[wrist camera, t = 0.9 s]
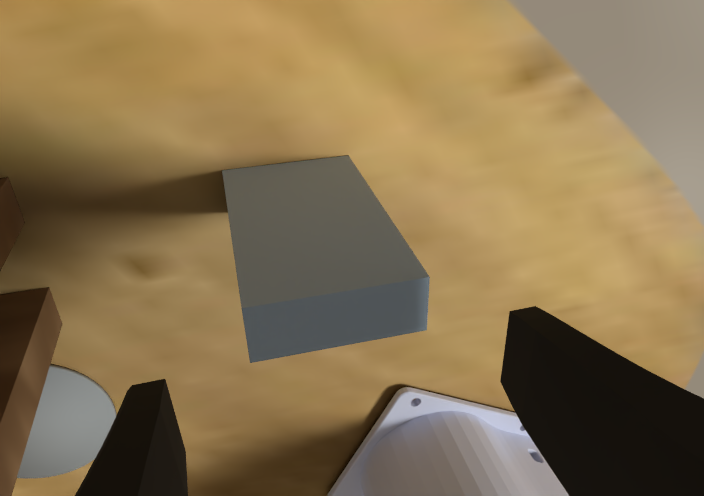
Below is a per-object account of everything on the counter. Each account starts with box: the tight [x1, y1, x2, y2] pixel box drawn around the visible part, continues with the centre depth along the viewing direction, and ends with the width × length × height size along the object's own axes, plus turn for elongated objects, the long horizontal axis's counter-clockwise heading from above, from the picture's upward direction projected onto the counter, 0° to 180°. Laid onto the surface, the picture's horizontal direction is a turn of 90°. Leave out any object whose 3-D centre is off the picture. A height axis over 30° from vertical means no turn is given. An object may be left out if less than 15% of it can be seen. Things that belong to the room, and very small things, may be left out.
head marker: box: [17, 364, 116, 478], centre depth 22 cm, size 6×6×1 cm
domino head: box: [222, 155, 430, 363], centre depth 17 cm, size 2×4×8 cm, turn 91°
